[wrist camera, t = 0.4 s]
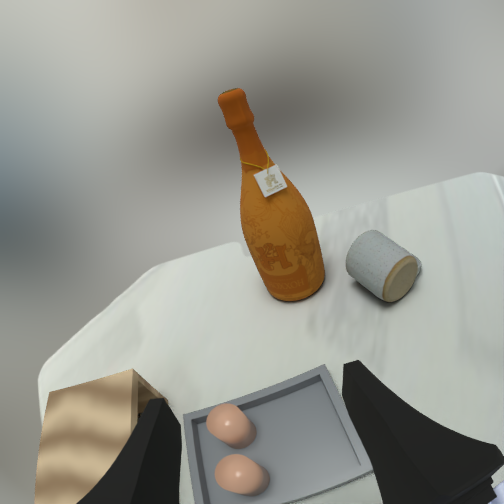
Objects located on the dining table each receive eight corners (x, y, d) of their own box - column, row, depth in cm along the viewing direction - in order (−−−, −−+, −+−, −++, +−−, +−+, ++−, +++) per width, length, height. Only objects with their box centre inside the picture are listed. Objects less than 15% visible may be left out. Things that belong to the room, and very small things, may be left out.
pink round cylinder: (273, 490, 22) (259, 485, 20) (237, 500, 22) (218, 494, 20) (264, 459, 26) (249, 449, 23) (230, 469, 26) (211, 459, 23)
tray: (374, 471, 21) (374, 468, 20) (208, 521, 21) (197, 519, 20) (327, 373, 33) (324, 363, 32) (192, 421, 33) (183, 414, 32)
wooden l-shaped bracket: (181, 523, 21) (134, 513, 16) (81, 520, 21) (34, 503, 16) (167, 400, 36) (132, 368, 32) (85, 419, 36) (49, 392, 31)
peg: (260, 443, 28) (245, 430, 25) (226, 452, 28) (208, 441, 25) (252, 414, 31) (238, 398, 29) (221, 424, 31) (204, 409, 29)
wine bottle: (260, 306, 45) (173, 112, 29) (273, 264, 53) (208, 95, 36) (324, 303, 41) (258, 83, 25) (329, 259, 49) (276, 74, 32)
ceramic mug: (385, 316, 36) (384, 272, 32) (347, 286, 42) (341, 244, 38) (433, 274, 38) (436, 231, 34) (395, 252, 44) (393, 211, 40)
